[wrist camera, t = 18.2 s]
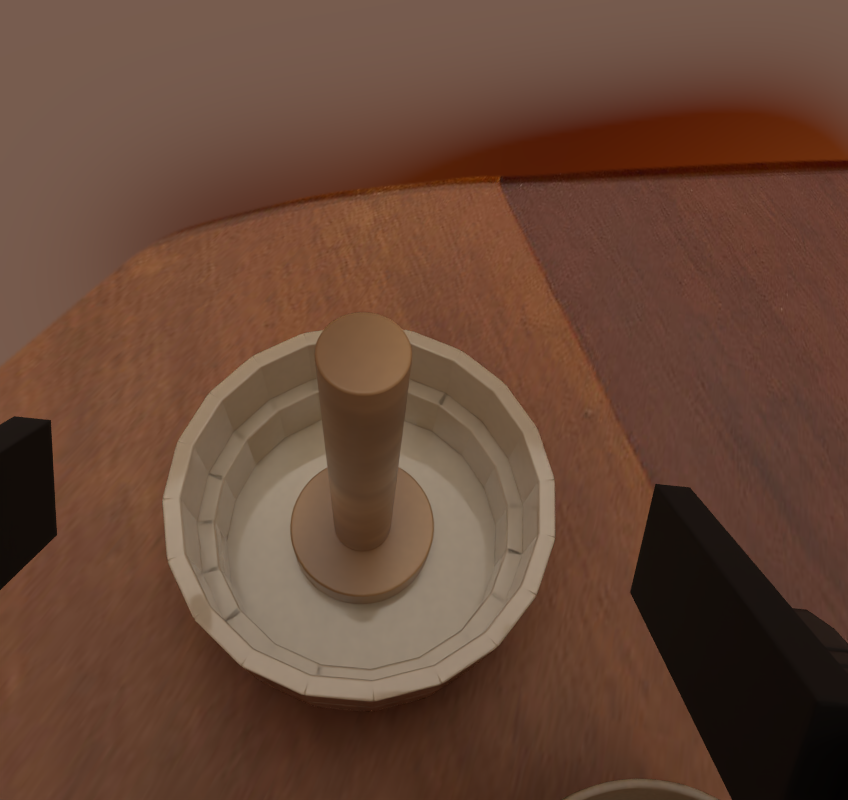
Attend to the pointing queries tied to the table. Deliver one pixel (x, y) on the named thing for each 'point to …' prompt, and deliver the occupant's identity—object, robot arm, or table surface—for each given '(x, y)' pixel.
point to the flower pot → (640, 791)
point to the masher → (362, 469)
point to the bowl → (275, 558)
